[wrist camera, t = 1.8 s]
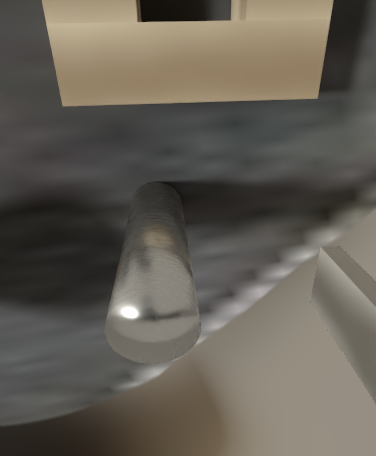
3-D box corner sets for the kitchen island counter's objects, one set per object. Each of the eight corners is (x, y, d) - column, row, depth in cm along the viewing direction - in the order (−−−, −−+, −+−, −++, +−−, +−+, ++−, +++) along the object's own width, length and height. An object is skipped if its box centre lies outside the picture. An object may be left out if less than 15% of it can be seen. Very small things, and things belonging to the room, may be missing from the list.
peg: (129, 182, 18) (97, 296, 9) (181, 180, 18) (200, 289, 9) (134, 228, 19) (111, 367, 10) (182, 226, 19) (200, 359, 10)
